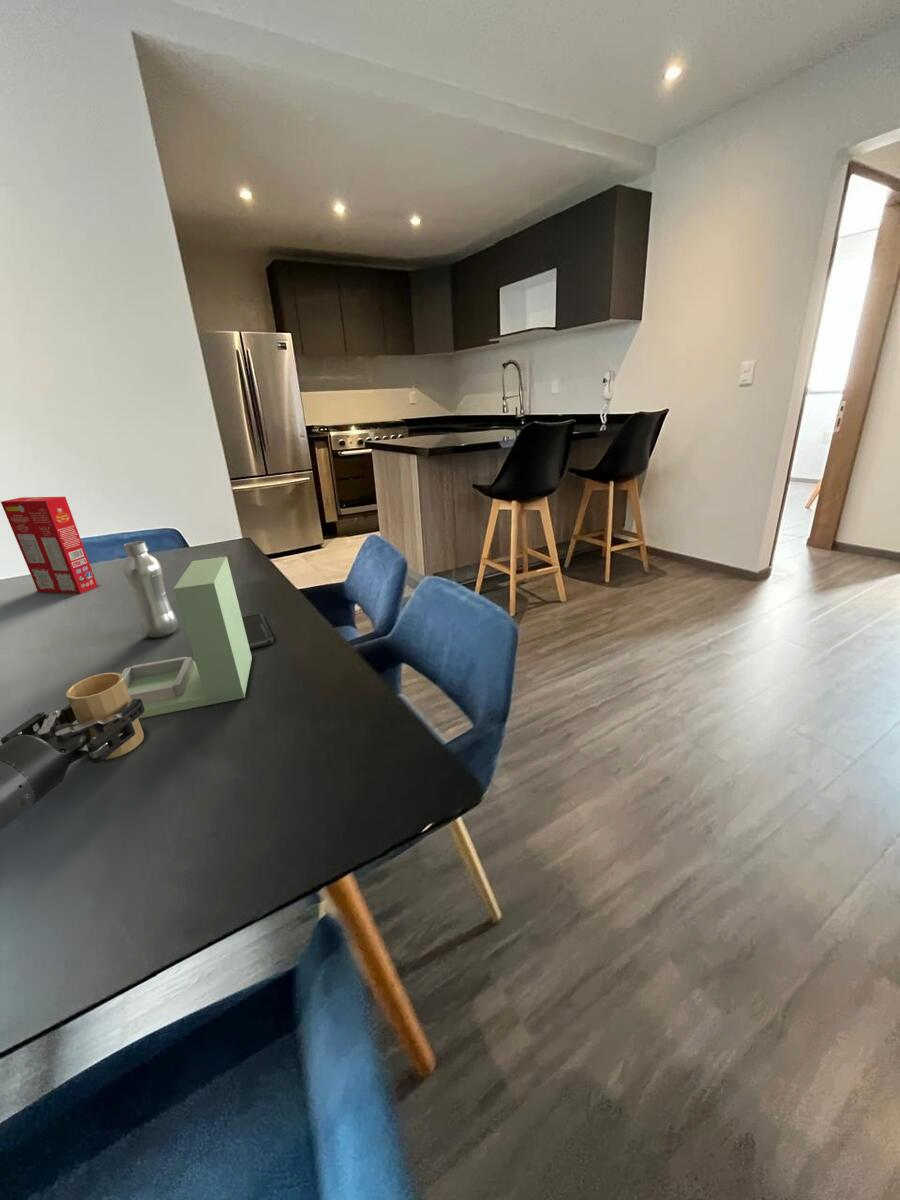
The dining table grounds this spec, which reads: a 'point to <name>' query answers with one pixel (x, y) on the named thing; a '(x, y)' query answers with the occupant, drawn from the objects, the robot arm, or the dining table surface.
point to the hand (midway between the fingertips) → (114, 702)
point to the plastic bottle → (149, 590)
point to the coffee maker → (199, 647)
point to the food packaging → (50, 544)
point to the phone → (257, 631)
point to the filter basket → (103, 705)
